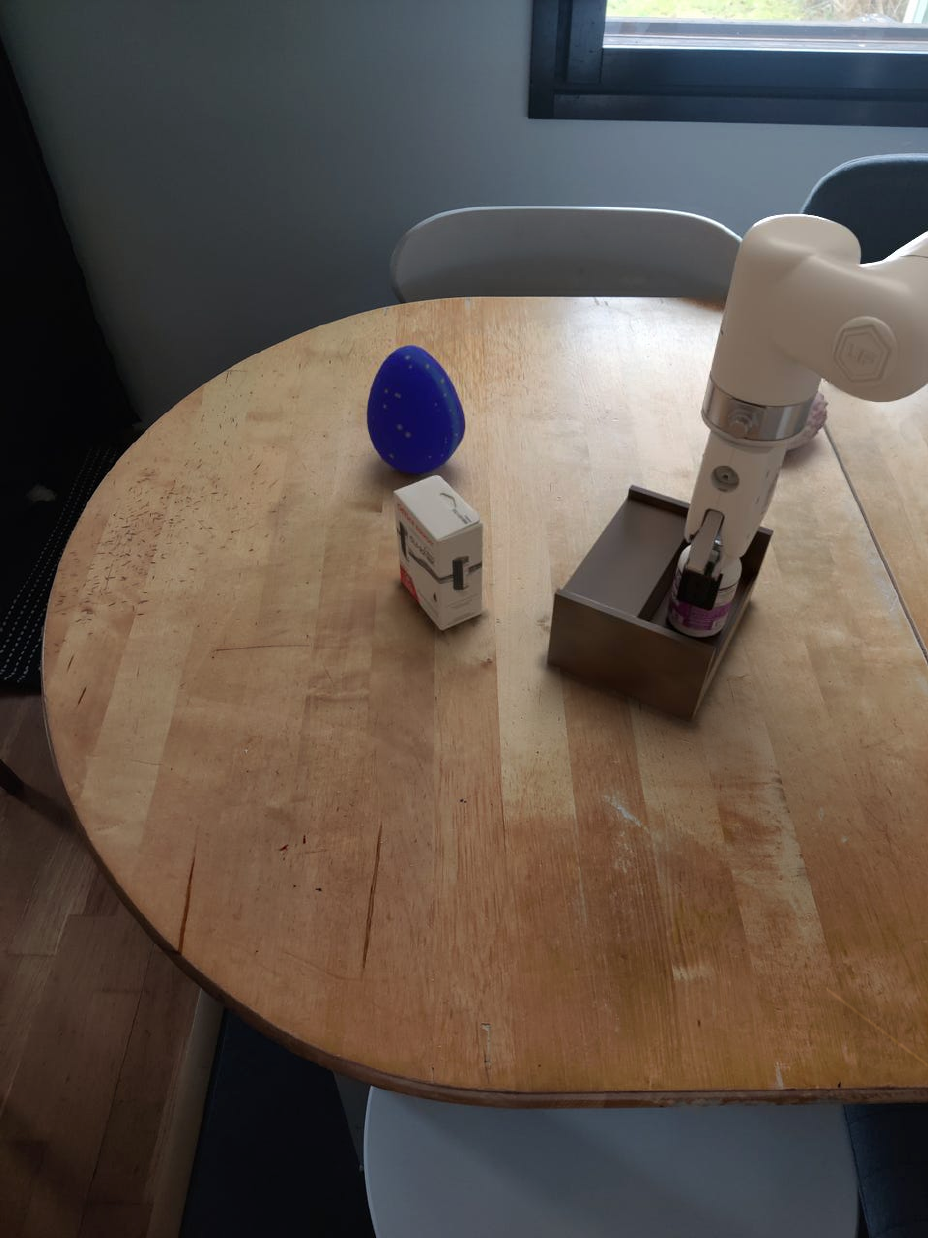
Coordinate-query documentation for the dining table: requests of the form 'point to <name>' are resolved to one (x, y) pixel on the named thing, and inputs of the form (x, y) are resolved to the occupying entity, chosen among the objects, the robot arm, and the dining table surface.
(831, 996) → the dining table surface
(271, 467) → the dining table surface
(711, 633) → the pill bottle
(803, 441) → the decorative item
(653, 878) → the dining table surface
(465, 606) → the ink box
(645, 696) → the brown open box
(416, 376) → the ornament
